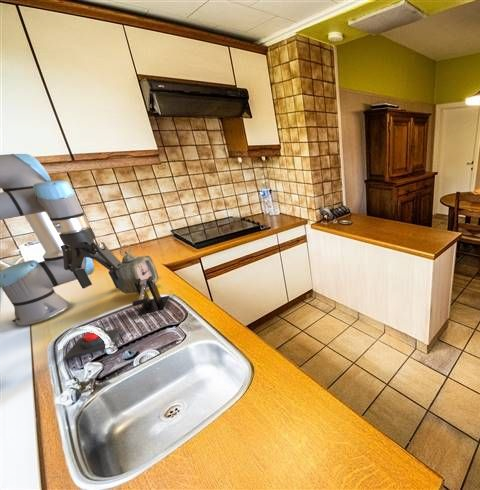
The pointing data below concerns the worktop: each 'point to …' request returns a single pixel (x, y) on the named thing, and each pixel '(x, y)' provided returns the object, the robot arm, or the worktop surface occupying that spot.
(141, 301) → the lever
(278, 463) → the worktop surface
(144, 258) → the tabletop clock
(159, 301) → the bracket
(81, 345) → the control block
